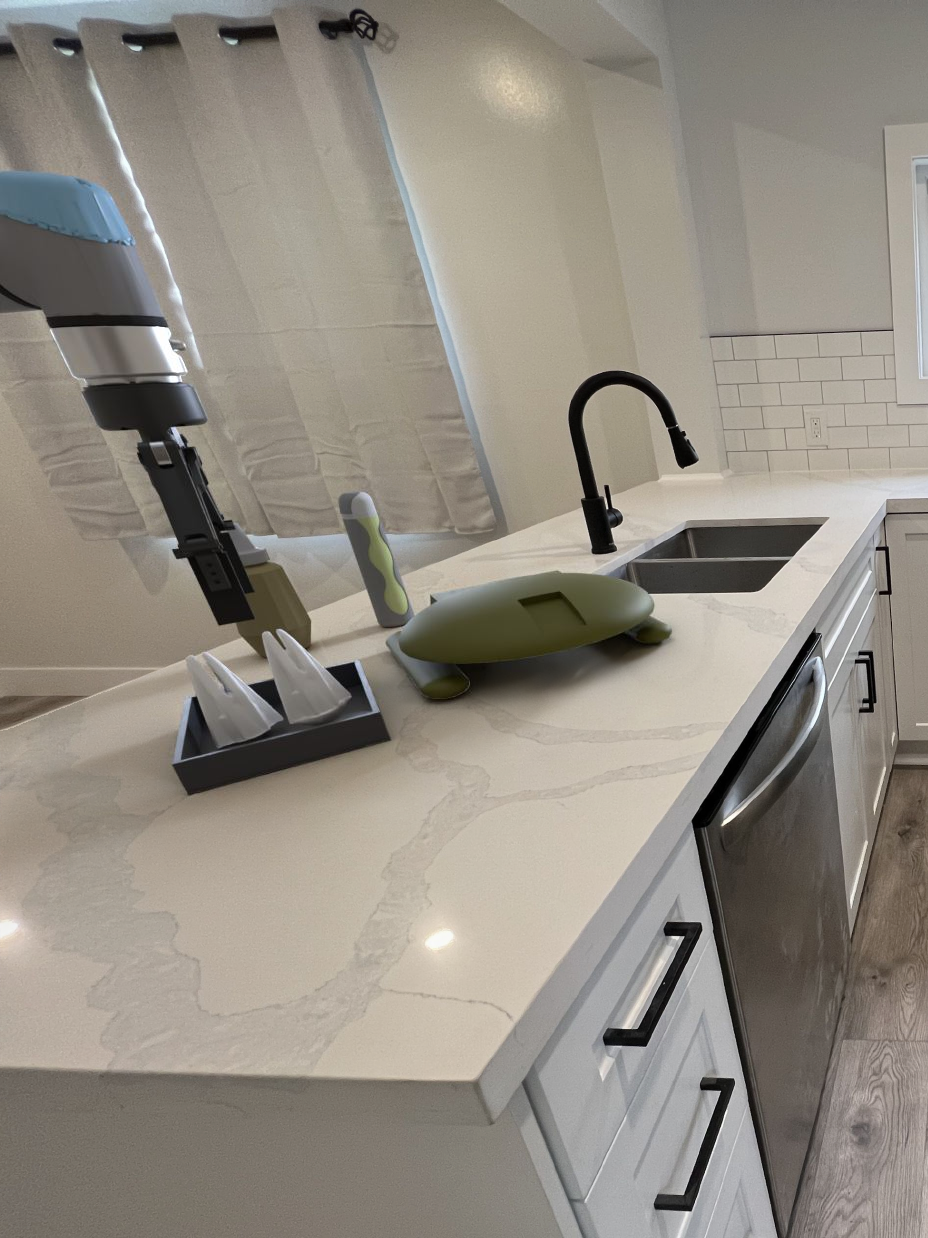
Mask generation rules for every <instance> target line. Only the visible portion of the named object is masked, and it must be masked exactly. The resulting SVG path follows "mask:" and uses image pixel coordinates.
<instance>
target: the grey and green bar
mask: <svg viewBox="0 0 928 1238" xmlns="http://www.w3.org/2000/svg"><path fill="white" fill-rule="evenodd" d="M337 502H338V508H339V514H341V516H342V518H341V519H342V522H343V526H344V528H345V531H346V534H347V537H348V540H349V543H350V546H351V549H352V552H353V555H354V556H355V557H354V558H355V561H356V563H357V565H358V568H359V572H360V574H361V577H362V580H363V583H364V586H365V589H366V592H367V595H368V597H369V600H370V604H371V606H372V609H373V612H374V615H375V618H376V621H377V623H378V626H381V627H384V628H394V627H400V626H405V625H406V624H407V623H408V622H409V621H410V620H411V619H412V618H413V617H414V616H415V615H416V614H415V612H414V610H413V607H412V604H411V601H410V597H409V595H408V593H407V590H406V588H405V585H404V582H403V579H402V575H401V573H400V571H399V568H398V565H397V562H396V559H395V557H394V554H393V552H392V548H391V546H390V542H389V540H388V537H387V534H386V532H385V528H384V526H383V524H382V521H381V518H380V516H379V515H378V512H377V510H376V507H375V504H374V501H373V499H372V497H371V496H370V495H369V494H368V493H367V492H363V491H358V490H357V491H356V490H355V491H352V490H351V491H346V492H345V491H344V492H343V493H341V494H340V495H339V496H338V500H337Z"/></svg>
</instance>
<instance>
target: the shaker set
mask: <svg viewBox="0 0 928 1238" xmlns="http://www.w3.org/2000/svg"><path fill="white" fill-rule="evenodd" d="M276 632H277V634H278V636H279V638H280V639H281V641H282V643H283V644H284V646H285V647H286V650H284V649H283V648H282V647H281V645H280V644H279V643H278V642H277V640H276V639H275V638H274V637H273V636H272V634H271V633H270V632H264V633H263V634H262V639H263V644H264V647H265V652H266V655H267V657H266V658H267V661H268V664H269V667H270V671H271V675H272V678H274V680H275V684H276V686H277V690H278V692H279V695H280V698H281V701H282V704H283V706H284V709H285V712H286V715H287V717H288V720H289V723H290V724H293V725H297V724H305V725H314V726H319V725H323V724H327V723H331V722H332V721H335V720H336V719H337V718H338V717H340V716H341V714H342V713H343V711H344V710H345V708H346V706H347V703H348V702H349V701H350V699H351V697H352V696H351V693H349V692H348V691H347V690H346V689H345V688H344V687H343V686H342V685H341V684H340V683H339V682H338V681H337V680H336V679H335V678H334V677H333V676H332V675H331V674H330V673H329V672H328V671H327V670H326V669H325V668H324V666H323V665H322V664H321V663H320V662H319V661H318V660H317V659H315V658H314V656H312V654H311V653H310V652H308V651H307V649H306V648H305V649H304V648H303V647H302V646H301V645H300V644H299V643H298V642H297V641H296V640H295V639H294V638H292V637H291V636H290V635H289V634H287V633H286V632H285V631H283V630H281V629H277V630H276ZM201 657H202V659H203V661H204V662H205V663H206V665H207V666H208V667H209V669H210V670H211V672H212V673H213V674H214V676H215V677H216V679H217V681H218V682H219V684H220V685H221V686H220V685H219V684H218V683H217V682H216V681H215V679H214V678H213V677H212V676H211V674H210V673H209V672H208V671H207V669H206V668H205V667H204V666H203V665H202V663H201V662H200V661H199V660H198V658H196V656H195V655H193V654H190V655H187V656H186V657H185V662H186V667H187V671H188V675H189V678H190V681H191V684H192V687H193V689H194V692H195V695H196V696H197V698H198V701H199V704H200V707H201V709H202V712H203V715H204V717H205V720H206V722H207V725H208V727H209V730H210V733H211V735H212V738H213V740H214V742H215V745H216V748H221V747H223V746H226V745H230V744H232V743H235V742H243V741H246V740H248V739H251V738H255V737H257V736H259V735H261V734H263V733H264V732H266V731H268V730H270V729H271V726H272V725H274V724H275V723H276V722H279V721H283V717H282V716H281V715H280V714H279V713H278V712H276V711H275V710H274V709H273V708H272V707H271V705H269V704H268V702H266V701H265V700H263V699H262V698H261V697H260V696H259V695H258V694H256V693H255V692H254V691H253V690H252V689H251V688H250V687H249V686H247V684H248V683H245V682H244V681H243V680H242V679H241V678H240V677H239V676H238V675H236V674H235V673H234V672H232V671H231V670H230V669H229V668H228V667H227V666H226V665H224V664H223V663H222V662H221V661H220V660H219V659H217V658H216V657H214V656H213V655H211V654H210V653H208V652H207V651H206V652H205V651H203V652H201Z"/></svg>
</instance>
